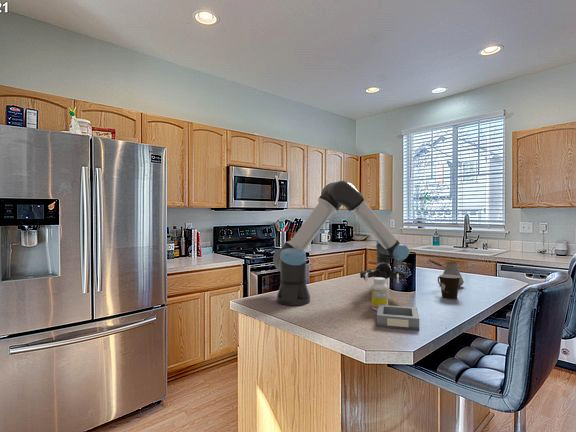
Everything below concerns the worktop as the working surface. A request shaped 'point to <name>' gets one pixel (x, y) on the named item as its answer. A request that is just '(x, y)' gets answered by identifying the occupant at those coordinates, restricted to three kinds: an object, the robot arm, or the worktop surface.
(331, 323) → the worktop surface
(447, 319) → the worktop surface
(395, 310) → the pocket tray
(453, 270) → the coffee pot
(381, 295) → the supplement bottle
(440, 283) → the coffee mug
